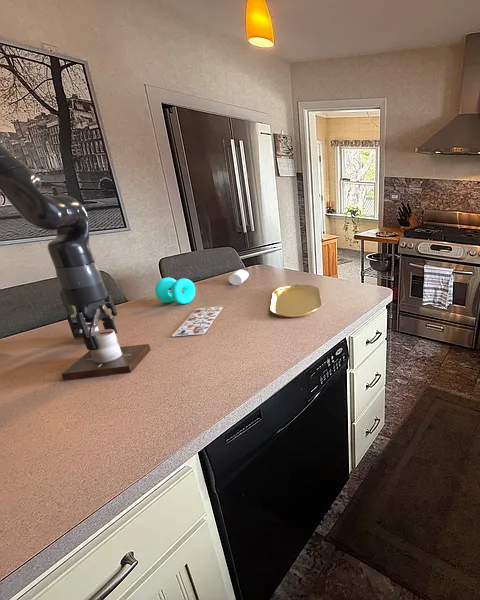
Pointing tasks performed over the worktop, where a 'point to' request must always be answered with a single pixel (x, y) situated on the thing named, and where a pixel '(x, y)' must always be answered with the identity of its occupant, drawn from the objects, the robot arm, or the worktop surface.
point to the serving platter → (295, 300)
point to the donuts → (175, 290)
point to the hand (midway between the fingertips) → (103, 341)
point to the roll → (238, 277)
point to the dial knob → (106, 346)
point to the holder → (107, 364)
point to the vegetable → (68, 306)
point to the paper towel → (198, 321)
